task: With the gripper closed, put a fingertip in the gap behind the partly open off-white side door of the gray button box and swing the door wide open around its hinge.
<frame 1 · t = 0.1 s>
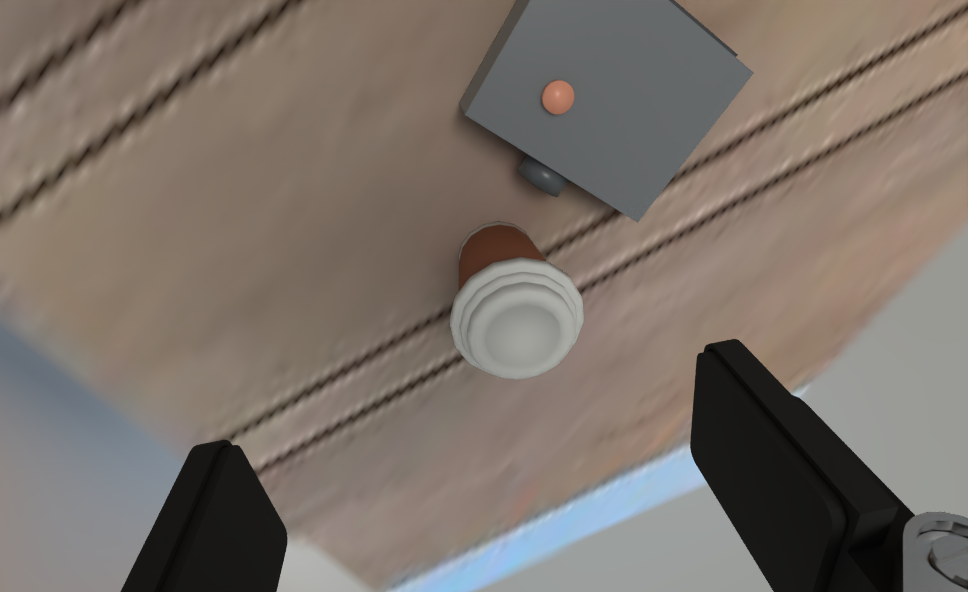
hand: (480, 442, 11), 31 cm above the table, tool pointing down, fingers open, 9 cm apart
coffee cup: (496, 256, 44), on the table
gray button box: (590, 83, 37), on the table
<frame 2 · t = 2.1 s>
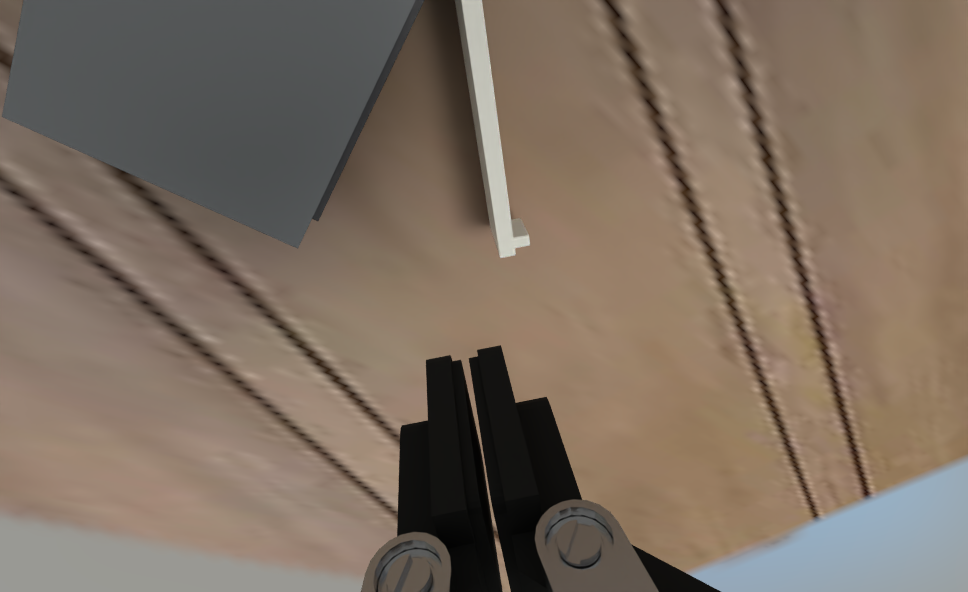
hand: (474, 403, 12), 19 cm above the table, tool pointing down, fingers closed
side door: (491, 113, 25), point 2 cm above the table, hinge at 40.0°
gray button box: (251, 17, 23), on the table
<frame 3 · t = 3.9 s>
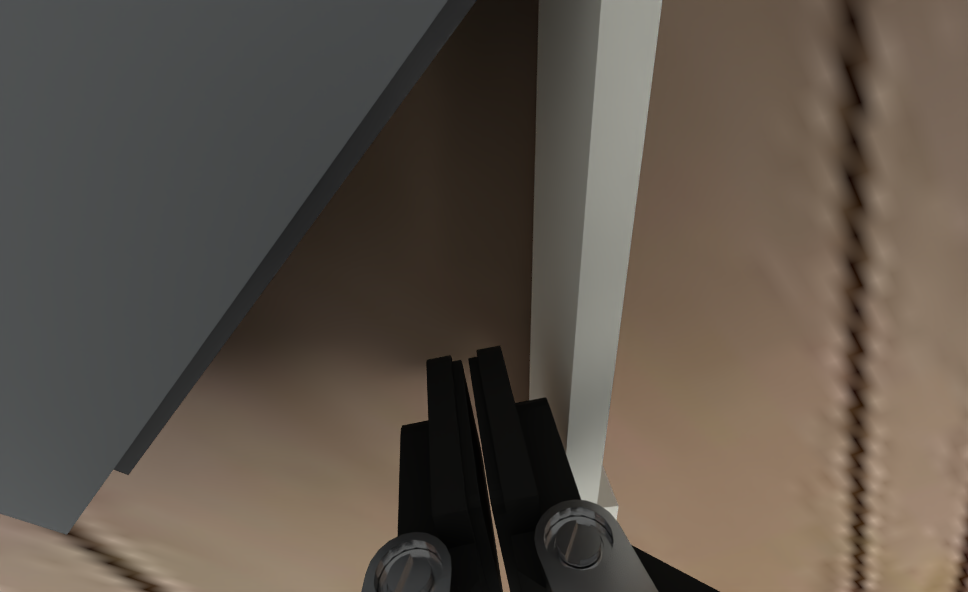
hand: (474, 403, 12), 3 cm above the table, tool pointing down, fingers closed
side door: (586, 272, 11), point 2 cm above the table, hinge at 42.1°, touching gripper
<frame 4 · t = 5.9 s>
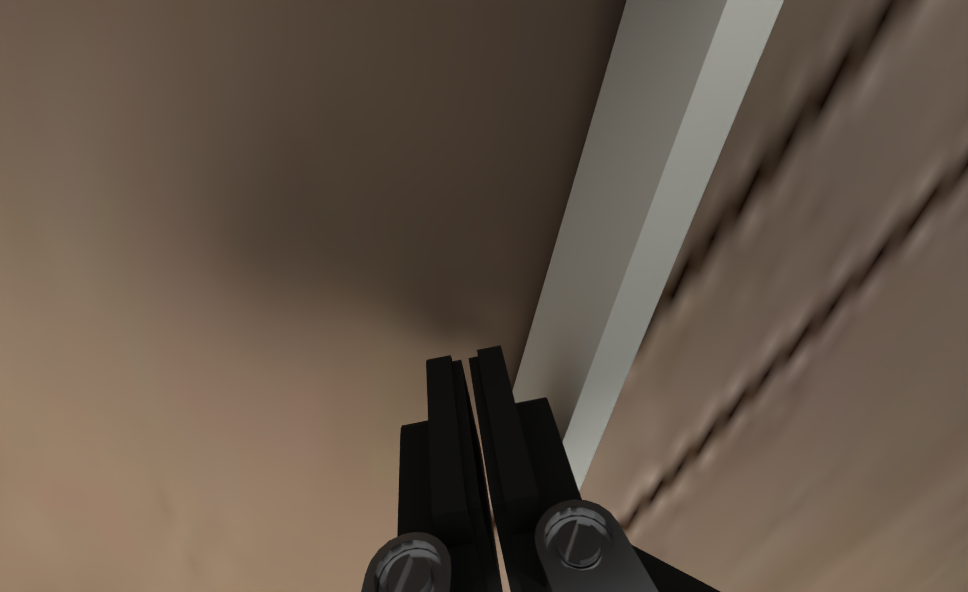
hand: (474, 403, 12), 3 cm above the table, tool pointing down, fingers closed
side door: (610, 278, 11), point 2 cm above the table, hinge at 79.4°
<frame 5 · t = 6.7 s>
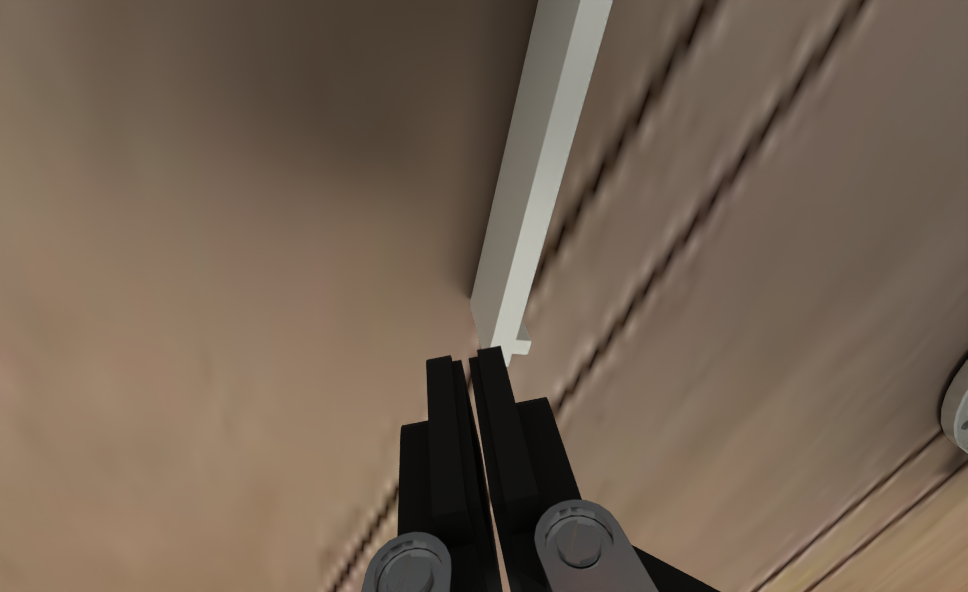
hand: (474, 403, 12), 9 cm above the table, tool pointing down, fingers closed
side door: (541, 160, 16), point 2 cm above the table, hinge at 79.4°
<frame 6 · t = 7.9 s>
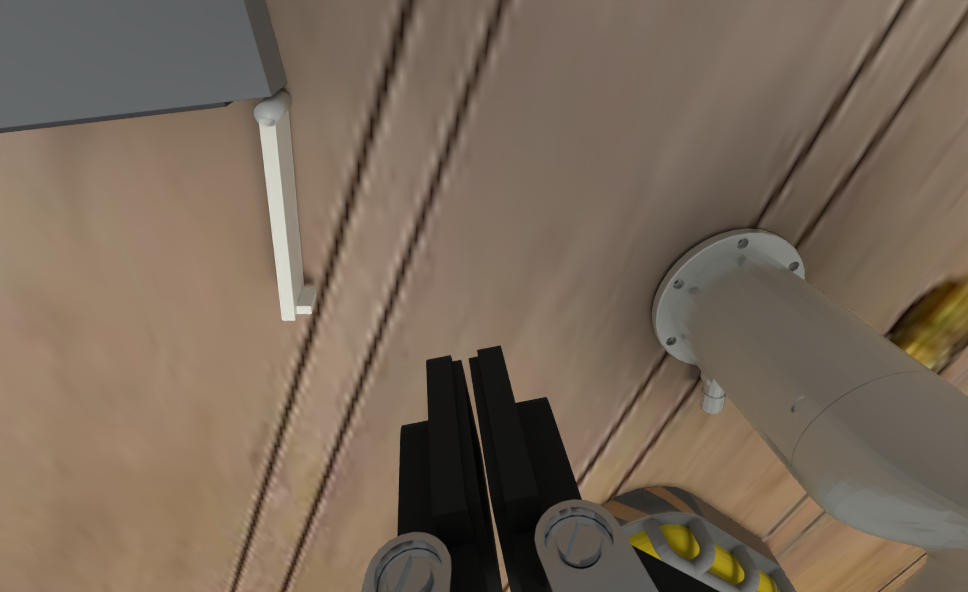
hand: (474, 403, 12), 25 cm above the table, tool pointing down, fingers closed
side door: (290, 211, 32), point 2 cm above the table, hinge at 79.4°
cage light: (676, 547, 62), on the table
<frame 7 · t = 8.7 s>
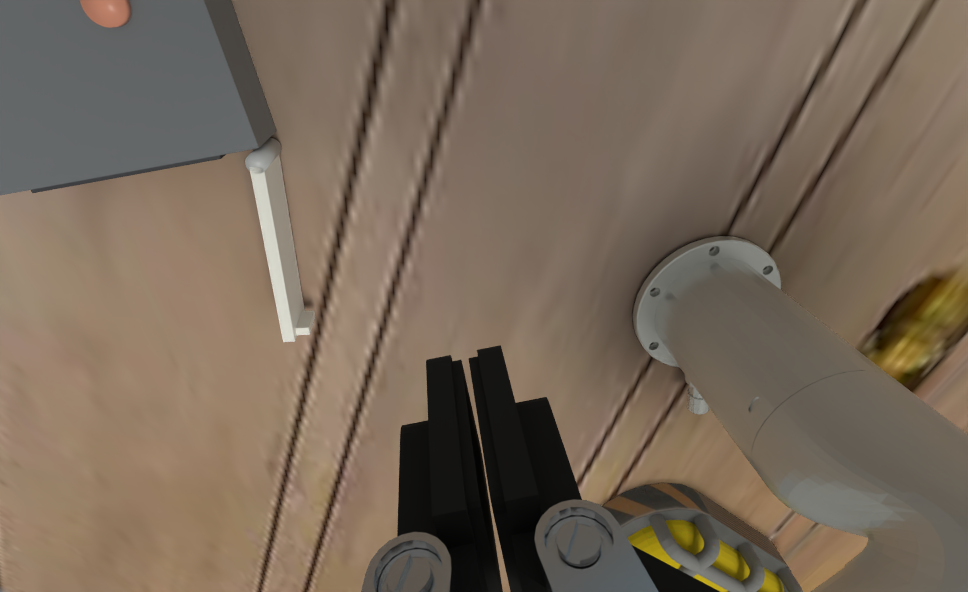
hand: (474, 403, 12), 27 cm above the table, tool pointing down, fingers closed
side door: (285, 244, 35), point 2 cm above the table, hinge at 79.4°
cage light: (683, 545, 63), on the table
gray button box: (114, 51, 30), on the table
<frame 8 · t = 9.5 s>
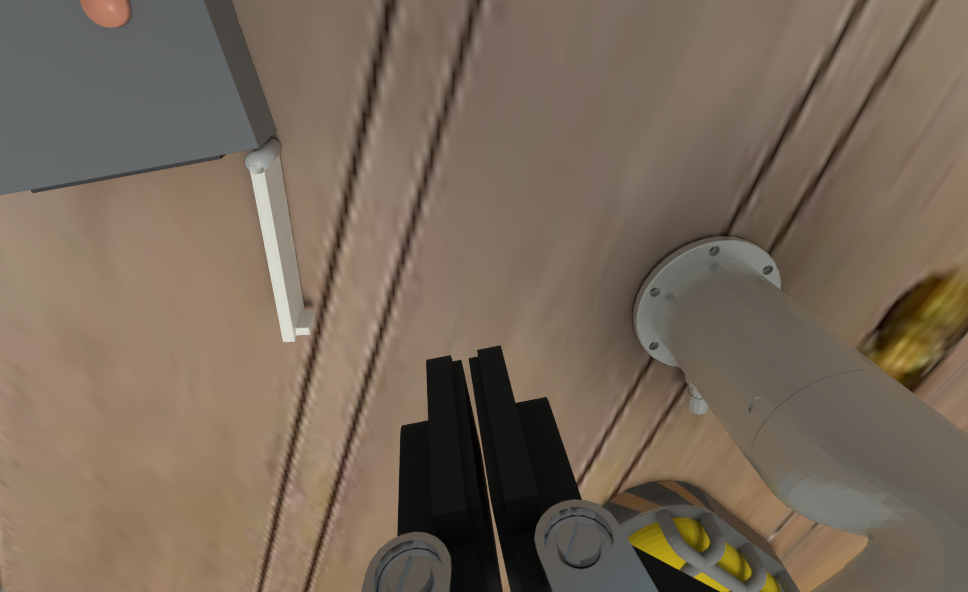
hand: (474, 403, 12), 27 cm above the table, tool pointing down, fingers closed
side door: (285, 244, 35), point 2 cm above the table, hinge at 79.4°
cage light: (683, 545, 63), on the table
gray button box: (114, 51, 30), on the table
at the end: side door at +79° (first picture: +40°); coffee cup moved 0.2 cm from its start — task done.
